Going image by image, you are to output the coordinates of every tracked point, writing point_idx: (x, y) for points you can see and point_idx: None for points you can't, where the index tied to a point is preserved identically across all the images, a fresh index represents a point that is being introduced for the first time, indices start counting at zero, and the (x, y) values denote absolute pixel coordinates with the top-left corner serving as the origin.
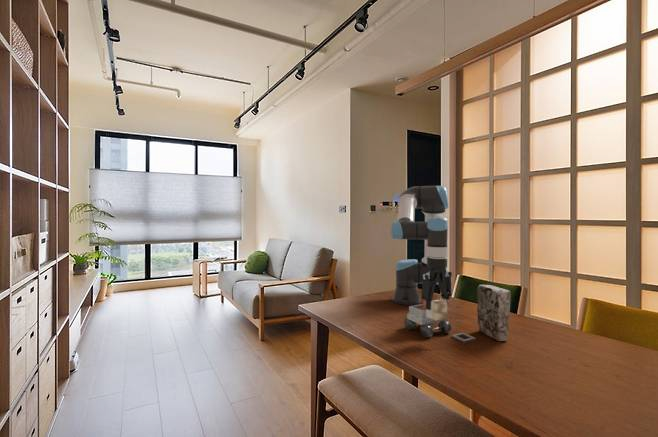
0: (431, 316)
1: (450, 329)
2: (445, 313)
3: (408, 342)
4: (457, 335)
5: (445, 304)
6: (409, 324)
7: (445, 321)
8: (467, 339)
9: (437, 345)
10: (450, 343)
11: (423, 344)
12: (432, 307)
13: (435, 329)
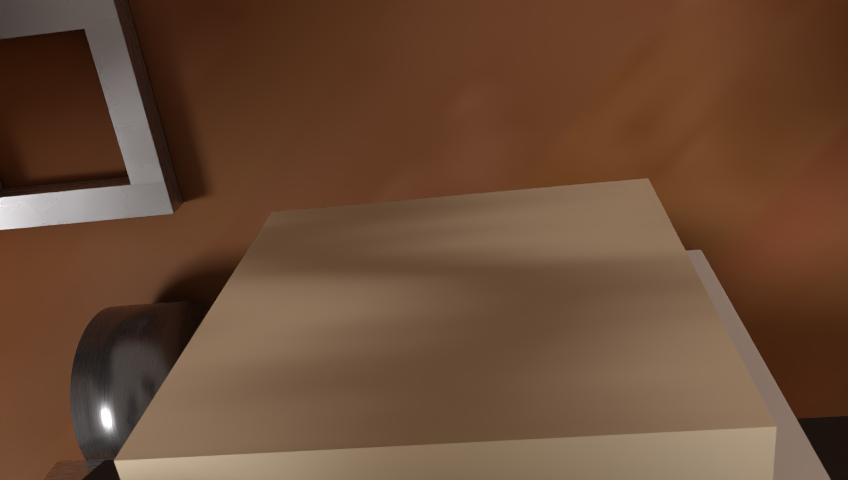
0: (714, 288)
1: (115, 310)
2: (296, 260)
3: (835, 262)
4: (90, 187)
5: (222, 419)
6: None
7: (118, 428)
8: (32, 11)
9: (544, 43)
10: (322, 36)
11: (701, 140)
12: (778, 430)
13: None
